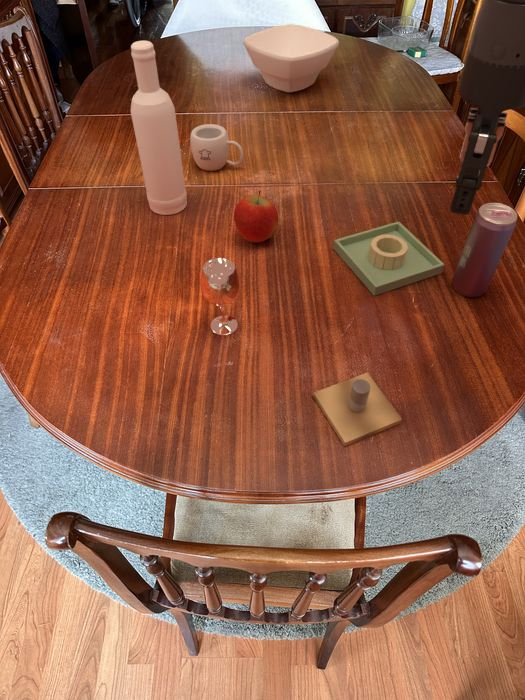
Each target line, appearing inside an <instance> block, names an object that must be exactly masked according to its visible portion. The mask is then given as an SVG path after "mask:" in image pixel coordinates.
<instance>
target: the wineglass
mask: <svg viewBox="0 0 525 700" xmlns="http://www.w3.org/2000/svg"><path fill="white" fill-rule="evenodd" d="M201 270H202V271H201V274H200V275H201V276H200V288H201V293H202V295H203V297H204V299H205V300H206V301H207V302H208V303H209V304H210V305H213V306H218V307H219V309H220V311H221V312H220V313H221V315H219V316H216V317H214V318H213V319H212V320H211V322H210V326H209V327H210V330H211V331H212V332H213V333H214V334H215V335H218V336H228V335H231V334H234V333H235V332H236V331H237V329H238V327H239V323H238V321H237V319H236V318H235V317H233V316H231V315H227V314H226V315H225V310H226V306H228V305H230V304H232V303H233V302H234V301H235V300H236V299H237V298H238V296H239V294H240V290H241V289H240V287H241V285H240V284H241V282H240V278H239V274H238V270H237V268H236V265H235V263H234V262H233V261H232V260H230V259H228V258H224V257H215V258H211V259H208V260H207V261H206V262H204V264H203V266H202V269H201Z"/></svg>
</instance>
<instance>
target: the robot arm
mask: <svg viewBox="0 0 525 700" xmlns="http://www.w3.org/2000/svg"><path fill="white" fill-rule="evenodd" d="M476 15H477V16H476V18H475V22H474V24H473V29H472V32H471V37H470V41H469V45H468V49H467V51H466V56H465V60H464V65H463V67H462V72H461V76H460V80H459V84H458V88H457V90H458V95H459V97H460V98H461V99H462V101H464V102H466V103H467V104H469V105H473V106H475V107H476V108H475V107H470V110H469V112H468V117H467V120H466V123H465V127H464V130H463V135H464V139H463V143H462V146H461V149H460V153H459V157H458V161H459V163H460V164H461V167H460V170H459V174H458V175H456V179H455V184H456V185H455V191H454V194H453V198H452V200H451V204H450V207H449V211H450V212H451V213H453V214H457V215H464V216H467V215H468V214H470V212H471V209H472V207H473V203H474V200H475V197H476V194H477V191H480V188H482V186H483V184H484V182H483V179H484V176H485V173H486V170H487V167H489V166H490V165H491V164H492V162H493V160H494V156H495V152H496V150H497V146H498V143H499V140H501V138H502V136H503V134H504V131H505V128H506V124H507V122H506V120H507V117H508V114H509V113H508V112H506V111H510V110H512V111H513V110H518V109H521V108H524V107H525V0H482V2H481V5H480V7H479V10H478V12H477V14H476Z"/></svg>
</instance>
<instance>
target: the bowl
mask: <svg viewBox="0 0 525 700" xmlns="http://www.w3.org/2000/svg"><path fill="white" fill-rule="evenodd" d="M242 42H243V46H244V48H245V50H246V53H247V55H248V56H249V58H250V60H251V62H252V65H253V66H254V67H255V68H256V69H258V70H259V72H260V74H261V76H262V78H263V81H264V82H265V84H267V85H268V86H270V87H271V88H273V89H275V90H279V91H282V92H285V93H295V92H298V91H301V90H305V89H308V87H310V86H312V85H313V84H314V83H315V82H316V80H317V78H318V77H319V74H320V72H321V71H322V70H324V69H325V68H326V67H327V66H329V63H330V61H331V60H332V58H333V56H334V54H335V52H336V51H337V49H338V47H339V45H340V42H339V39H338V38H337V37H335V36H334V35H331V34H330V33H327V32H324V31H322V30H320V29H316V28H312V27H308V26H304V25H301V24H294V23H289V24H288V23H287V24H281V25H277V26H273V27H269V28H265V29H262V30H259V31H257V32H254V33H253V34H250V35H248V36H247V37H245V38H244V39H243V41H242Z"/></svg>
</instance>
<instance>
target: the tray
mask: <svg viewBox="0 0 525 700" xmlns="http://www.w3.org/2000/svg"><path fill="white" fill-rule="evenodd" d="M384 234H386V235H395V236H397V237H400V238H401V239H403V240H404V241H405V242H406V243H407V246H408V251H407V254H406V258H405V262H404V264H403V265H402V266H401V267H400V268H397V269H394V270H383V269H380V268H378V267H375V265H373V264H372V263H371V262H370V261H369V250H370V245H371V241H372V240H373V239H374V238H375V237H376V236H379V235H384ZM333 250H334V251H335V253H336V254H337V255H338V256H339V257H340V258H341V259H342V261H343V262H344V263H345V264H346V265H347V266H348V268H349V269H350V270H351V271H352V272H353V273H354V275H355V276H356V277H357V279H359V281H361V283H362V284H363V285H364V286H365V287H366V288H367V289H368V291H369V292H370V293H371V294H372V296H377V295H381V294H384V293H387V292H389V291H393V290H396V289H399V288H401V287H404V286H405V287H406V286H408V285H411V284H413V283H416V282H420V281H423V280H426V279H428V278H431V277H434V276H438V275H441V274H443V271H444V268H445V262H442V260H440V258H438V257H437V256H436V255H435V254H434V253H433V252H432V251H431V250H430V249H429V247H426V245H425V244H424V243H422V241H420V240H419V238H417V236H415V234H413V233H412V232H411V231H410V230H409V229H408V228H407V227H405V225H403V223H401V222H400V221H396V222H392V223H389V224H385V225H382V226H377V227H374V228H371V229H367V230H364V231H360V232H358V233H353V234H350V235H347V236H343V237H340V238H337V239H334V241H333ZM383 252H385V253H392V252H390V251H383Z"/></svg>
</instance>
